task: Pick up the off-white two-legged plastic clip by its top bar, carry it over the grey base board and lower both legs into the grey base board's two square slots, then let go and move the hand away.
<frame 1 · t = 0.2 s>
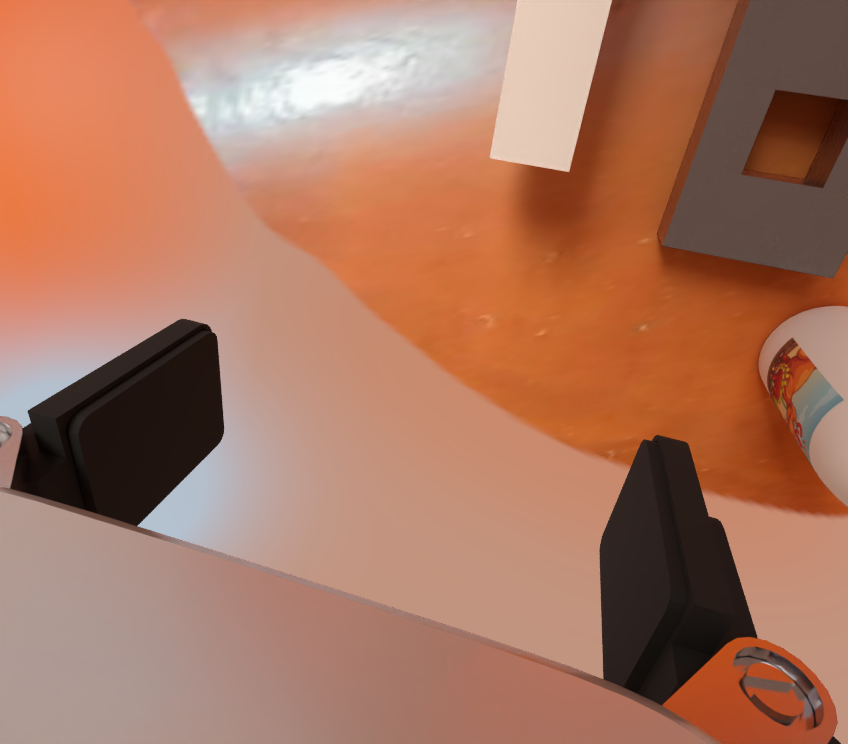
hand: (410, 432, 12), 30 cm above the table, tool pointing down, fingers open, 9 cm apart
milk bottle: (817, 352, 38), on the table
grey base board: (834, 15, 29), on the table
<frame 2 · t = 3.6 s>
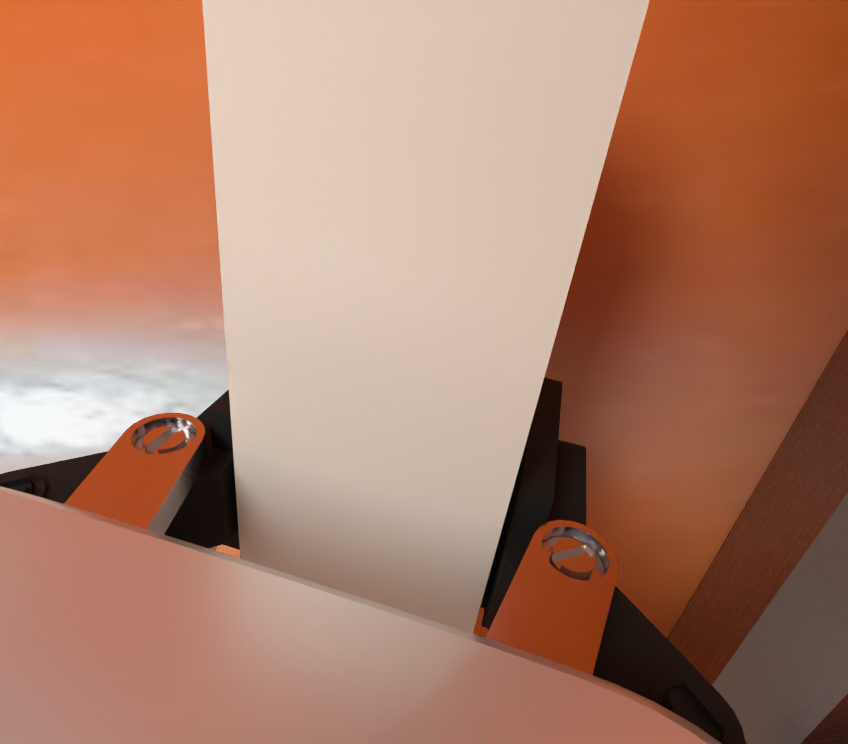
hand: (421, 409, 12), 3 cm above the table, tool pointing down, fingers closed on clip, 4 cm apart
clip: (451, 347, 15), on the table, touching gripper
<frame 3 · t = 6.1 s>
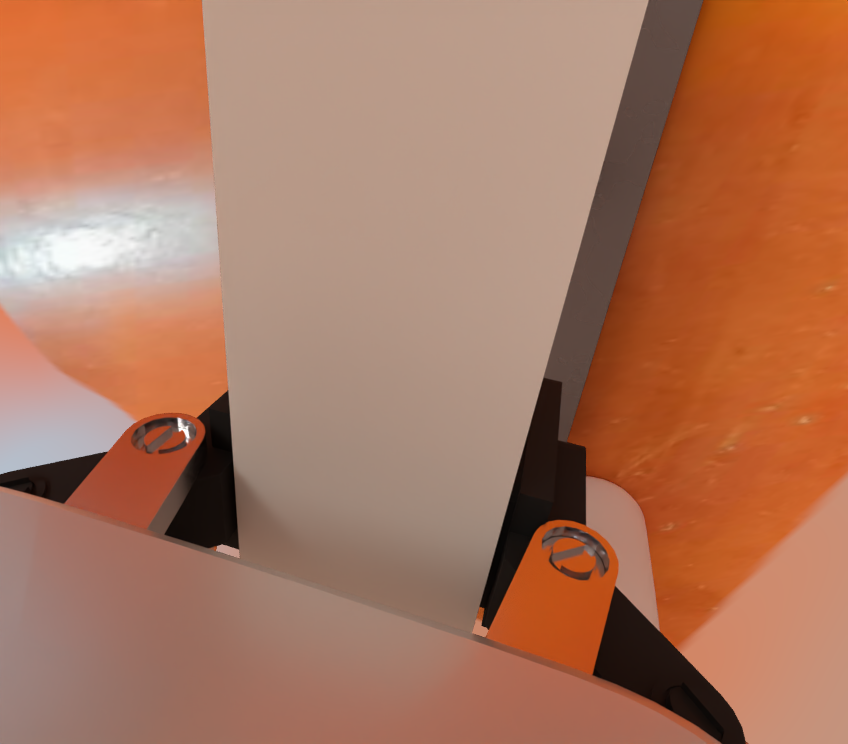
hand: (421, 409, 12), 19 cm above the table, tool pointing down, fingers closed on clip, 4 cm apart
milk bottle: (584, 514, 37), on the table
clip: (451, 349, 15), point 16 cm above the table, touching gripper
grey base board: (525, 219, 29), on the table
when the fingers open (5 cm above the table, at t = 9.0 s): clip drops 1 cm, on the table.
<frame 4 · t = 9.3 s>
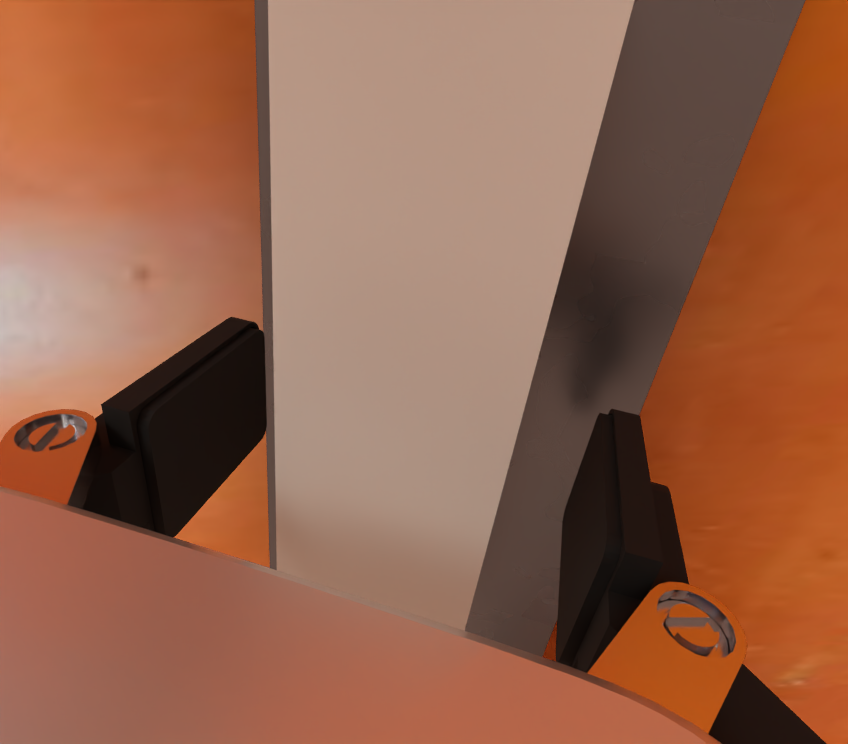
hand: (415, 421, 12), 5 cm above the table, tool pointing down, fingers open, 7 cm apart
clip: (460, 326, 17), on the table
grey base board: (462, 326, 17), on the table
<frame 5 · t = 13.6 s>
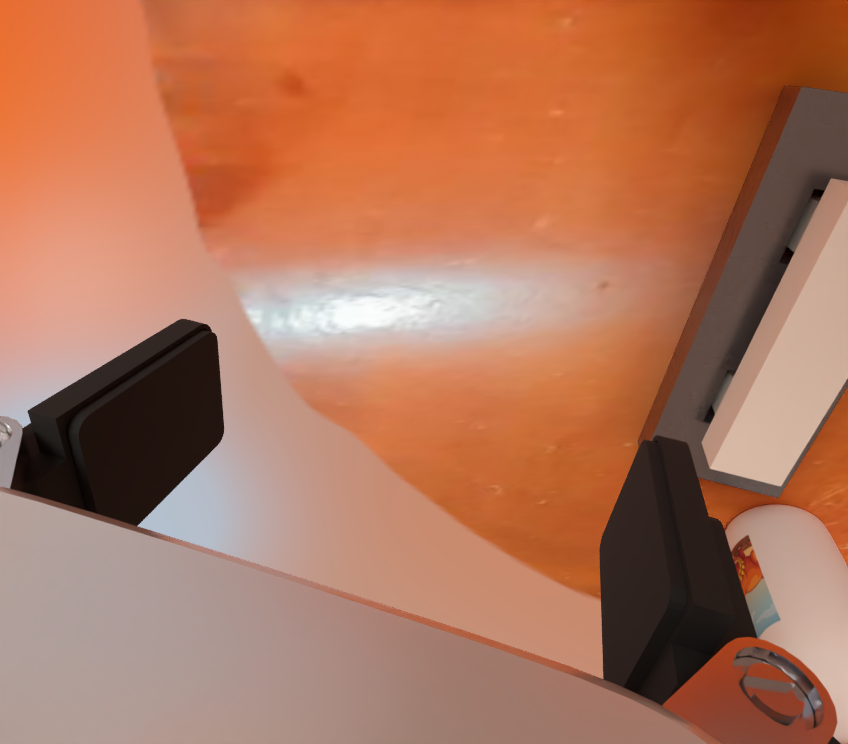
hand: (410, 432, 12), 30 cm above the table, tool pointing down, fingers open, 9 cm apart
milk bottle: (772, 534, 46), on the table
clip: (773, 309, 37), on the table
grey base board: (774, 309, 37), on the table
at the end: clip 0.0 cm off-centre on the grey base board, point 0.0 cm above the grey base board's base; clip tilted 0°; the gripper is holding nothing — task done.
